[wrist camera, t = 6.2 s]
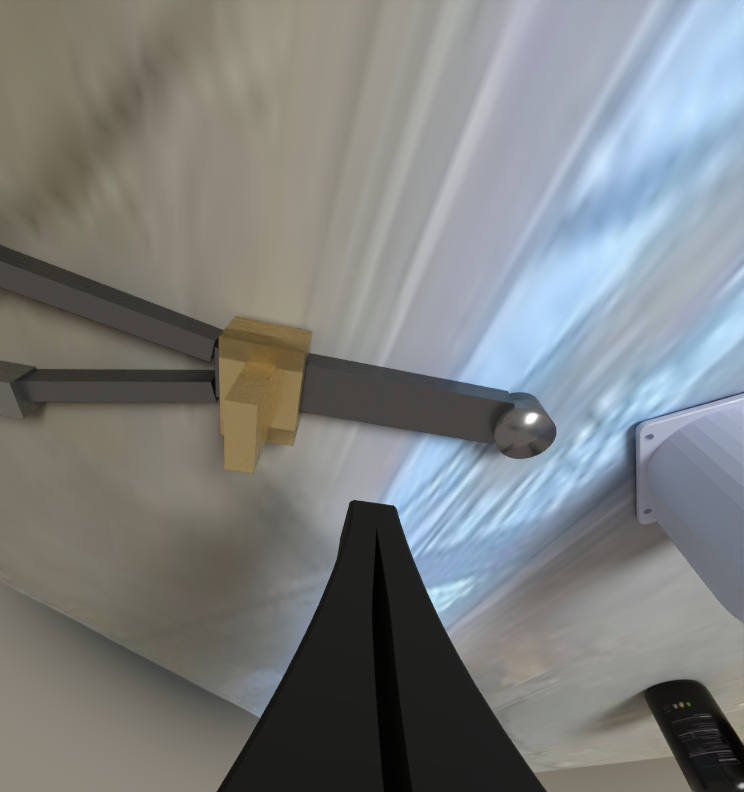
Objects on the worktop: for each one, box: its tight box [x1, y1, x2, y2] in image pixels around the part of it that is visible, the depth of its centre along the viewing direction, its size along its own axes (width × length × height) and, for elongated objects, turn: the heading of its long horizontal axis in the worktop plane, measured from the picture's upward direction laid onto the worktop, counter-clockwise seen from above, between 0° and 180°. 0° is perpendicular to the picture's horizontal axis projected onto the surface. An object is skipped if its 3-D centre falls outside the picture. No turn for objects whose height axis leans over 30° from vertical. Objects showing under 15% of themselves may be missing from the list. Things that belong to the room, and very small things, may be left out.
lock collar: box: [219, 316, 312, 474], centre depth 16 cm, size 4×5×5 cm, turn 168°
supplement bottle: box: [645, 680, 744, 792], centre depth 38 cm, size 7×7×12 cm
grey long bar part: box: [0, 245, 556, 459], centre depth 18 cm, size 30×9×2 cm, turn 78°
